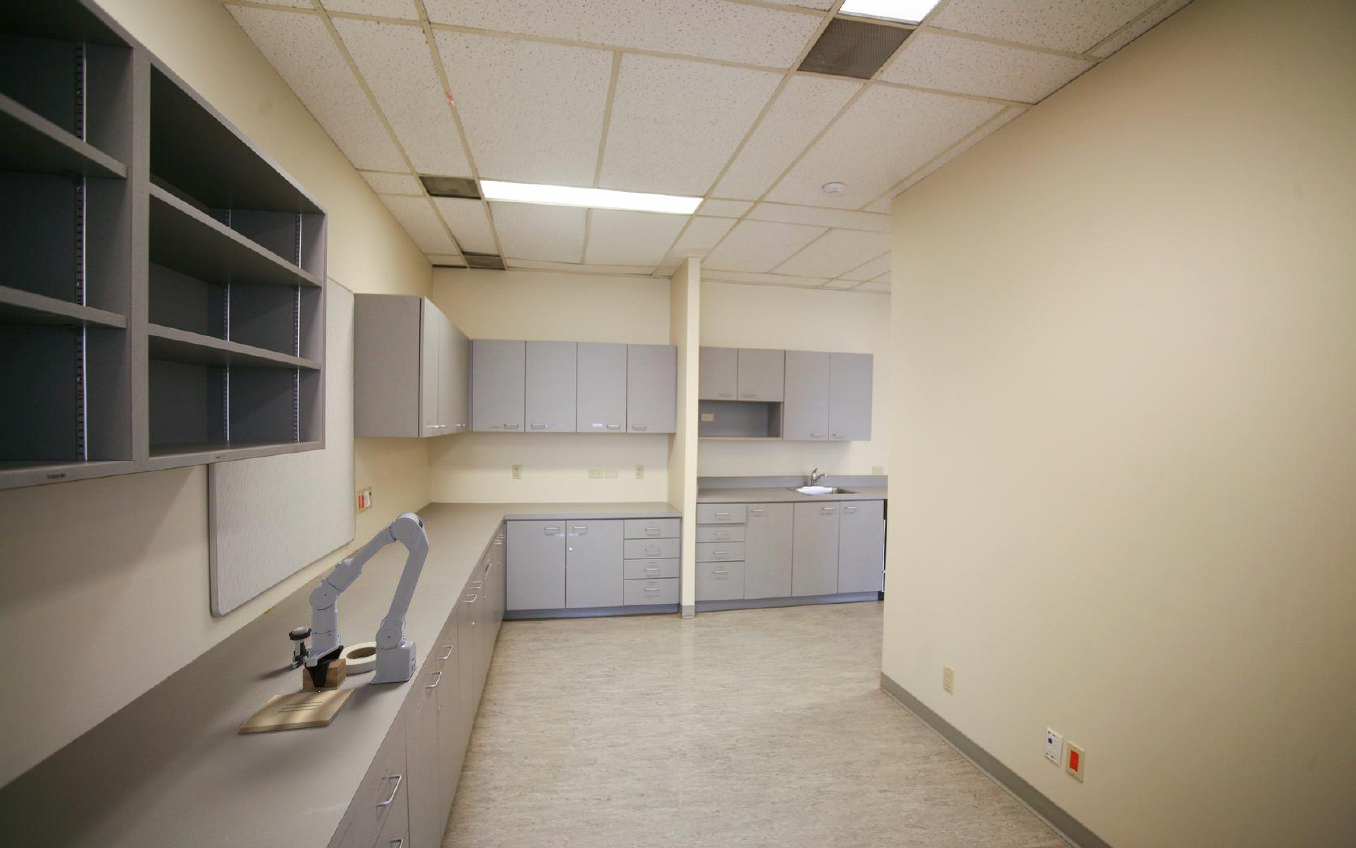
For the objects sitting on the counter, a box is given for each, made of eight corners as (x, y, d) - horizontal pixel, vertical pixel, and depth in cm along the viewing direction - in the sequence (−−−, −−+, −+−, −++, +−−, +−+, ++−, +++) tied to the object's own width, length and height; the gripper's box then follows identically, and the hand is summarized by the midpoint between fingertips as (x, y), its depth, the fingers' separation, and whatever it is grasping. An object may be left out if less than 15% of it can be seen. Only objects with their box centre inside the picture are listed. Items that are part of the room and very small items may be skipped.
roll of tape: (318, 668, 147) (318, 657, 147) (370, 646, 161) (370, 637, 161) (354, 680, 140) (354, 669, 140) (405, 656, 154) (405, 647, 154)
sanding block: (345, 680, 139) (345, 658, 139) (337, 690, 134) (337, 667, 134) (312, 683, 138) (312, 660, 138) (302, 693, 133) (302, 669, 133)
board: (354, 693, 133) (354, 688, 133) (328, 725, 119) (328, 719, 119) (274, 700, 129) (274, 695, 129) (239, 733, 116) (239, 728, 116)
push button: (303, 668, 146) (303, 633, 146) (282, 670, 144) (282, 634, 144) (315, 658, 152) (315, 624, 152) (294, 659, 151) (294, 625, 151)
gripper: (321, 620, 142) (321, 669, 142) (292, 642, 128) (292, 697, 128) (349, 618, 144) (349, 667, 144) (324, 640, 129) (324, 694, 130)
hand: (324, 681), depth 136 cm, fingers closed on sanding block, 5 cm apart
